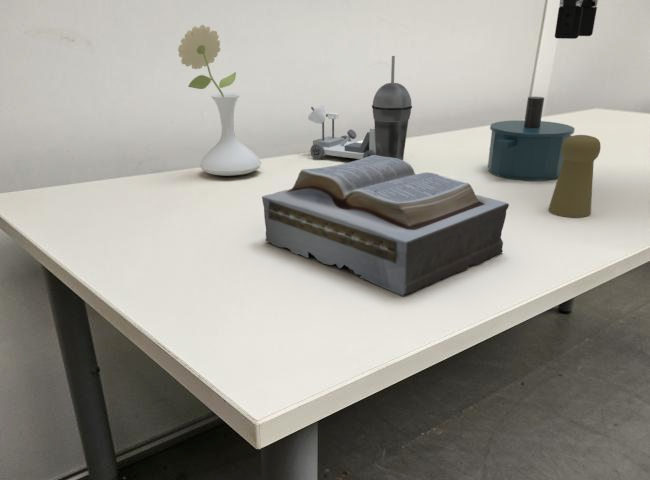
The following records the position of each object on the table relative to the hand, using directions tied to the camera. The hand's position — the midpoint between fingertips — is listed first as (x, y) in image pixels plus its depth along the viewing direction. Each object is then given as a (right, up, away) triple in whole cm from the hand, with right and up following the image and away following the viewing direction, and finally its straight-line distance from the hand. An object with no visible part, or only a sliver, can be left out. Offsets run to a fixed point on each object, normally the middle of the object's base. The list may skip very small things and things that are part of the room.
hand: (573, 37), depth 91 cm
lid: (0, -8, +19) cm, 21 cm away
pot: (0, -14, +23) cm, 27 cm away
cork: (-1, -26, 0) cm, 26 cm away
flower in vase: (-56, -15, +23) cm, 62 cm away
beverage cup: (-25, -14, +24) cm, 37 cm away
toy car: (-32, -8, +35) cm, 48 cm away
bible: (-30, -33, -13) cm, 47 cm away
